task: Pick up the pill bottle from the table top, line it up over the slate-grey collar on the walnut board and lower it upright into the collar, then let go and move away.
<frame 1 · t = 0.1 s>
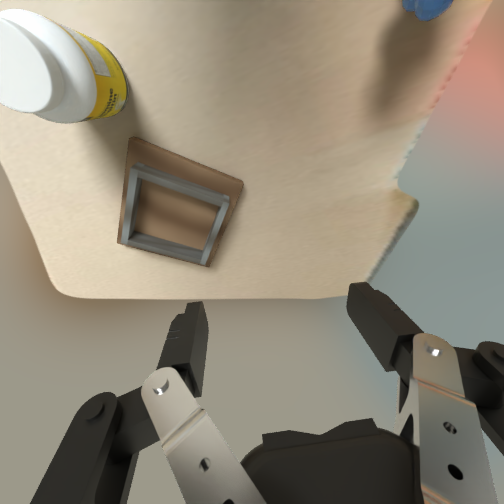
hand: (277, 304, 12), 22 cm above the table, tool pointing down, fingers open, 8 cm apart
collar board: (178, 210, 32), on the table
pill bottle: (98, 79, 23), on the table
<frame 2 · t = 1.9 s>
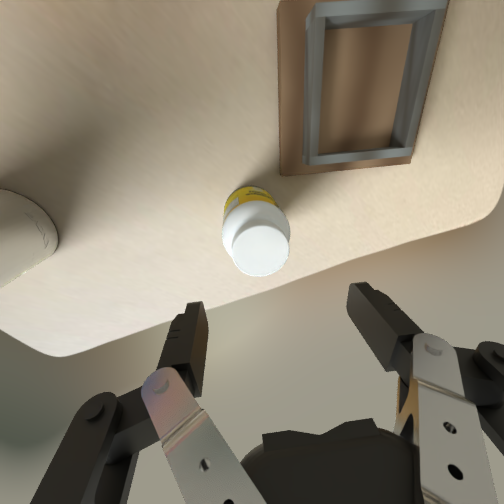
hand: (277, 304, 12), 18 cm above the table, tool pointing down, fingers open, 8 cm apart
collar board: (348, 98, 23), on the table
pill bottle: (249, 210, 28), on the table
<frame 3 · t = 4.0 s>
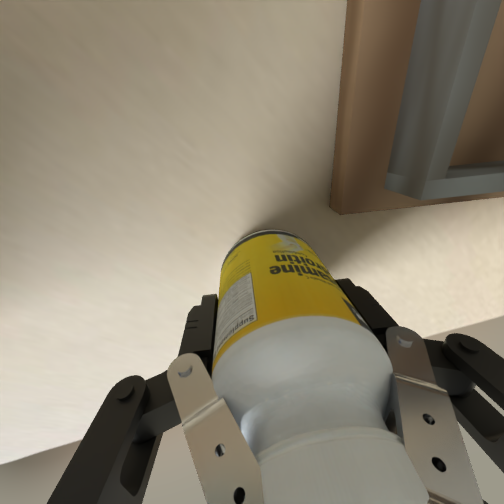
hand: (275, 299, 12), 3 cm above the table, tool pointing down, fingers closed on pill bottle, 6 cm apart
collar board: (497, 45, 10), on the table
pill bottle: (267, 268, 15), on the table, touching gripper
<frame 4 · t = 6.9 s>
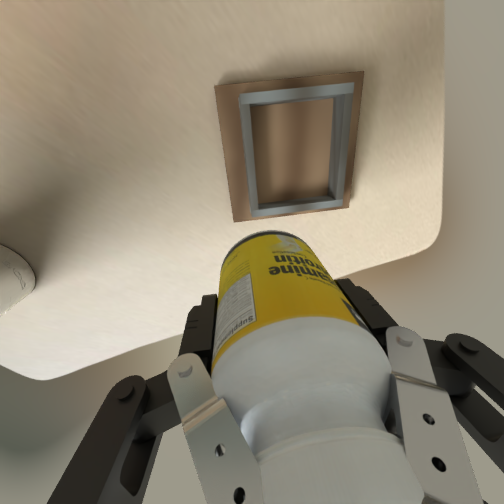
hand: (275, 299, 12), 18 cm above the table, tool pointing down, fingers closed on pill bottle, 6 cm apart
collar board: (288, 154, 26), on the table
pill bottle: (266, 268, 15), point 15 cm above the table, touching gripper
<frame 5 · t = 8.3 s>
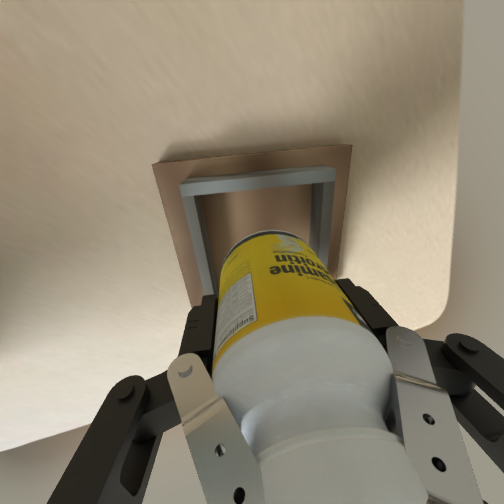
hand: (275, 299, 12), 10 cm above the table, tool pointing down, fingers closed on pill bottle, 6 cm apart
collar board: (258, 233, 21), on the table
pill bottle: (267, 268, 15), point 6 cm above the table, touching gripper
when the fingers open (5 cm above the table, at t = 9.7 s): pill bottle stays where it is, resting on collar board.
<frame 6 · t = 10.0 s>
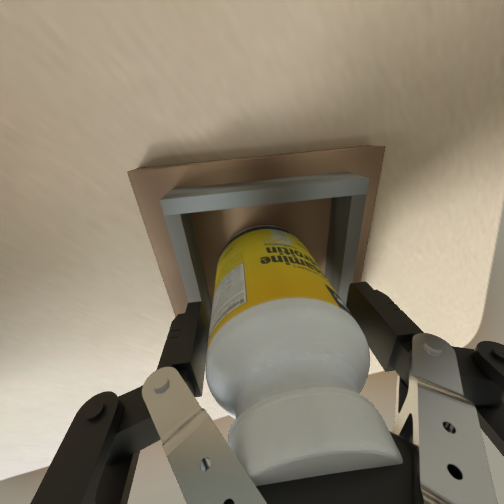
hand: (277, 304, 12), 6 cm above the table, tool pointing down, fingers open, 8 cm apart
collar board: (262, 253, 17), on the table
pill bottle: (261, 262, 16), point 1 cm above the table, touching collar board
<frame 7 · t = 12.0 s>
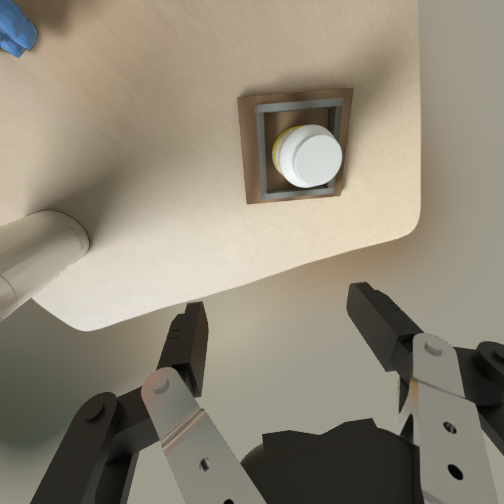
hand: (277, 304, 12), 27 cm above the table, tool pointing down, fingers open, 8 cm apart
grapes: (15, 33, 25), on the table
collar board: (292, 151, 33), on the table
pill bottle: (292, 152, 32), point 1 cm above the table, touching collar board
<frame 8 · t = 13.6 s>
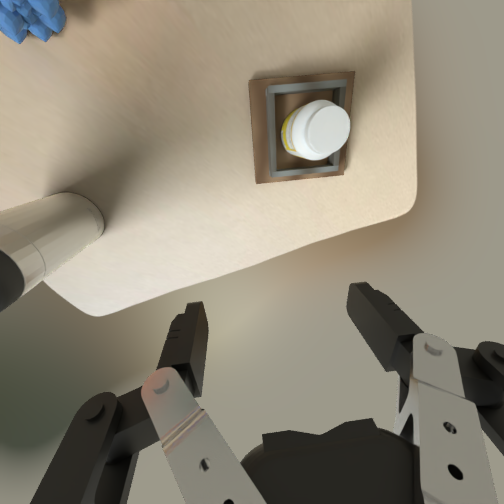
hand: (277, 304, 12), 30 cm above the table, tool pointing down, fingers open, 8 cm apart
grapes: (41, 19, 27), on the table
collar board: (298, 132, 35), on the table
pill bottle: (299, 133, 34), point 1 cm above the table, touching collar board
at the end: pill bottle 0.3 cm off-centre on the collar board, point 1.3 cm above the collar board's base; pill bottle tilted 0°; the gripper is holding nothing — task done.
